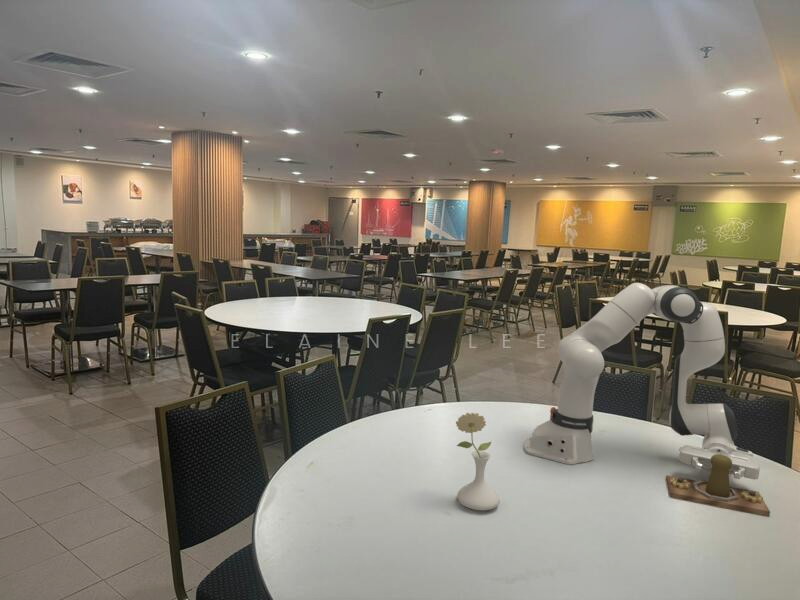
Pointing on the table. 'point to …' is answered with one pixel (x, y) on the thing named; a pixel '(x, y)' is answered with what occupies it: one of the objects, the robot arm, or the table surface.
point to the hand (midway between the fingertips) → (717, 471)
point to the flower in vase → (477, 491)
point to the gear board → (696, 493)
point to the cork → (719, 476)
